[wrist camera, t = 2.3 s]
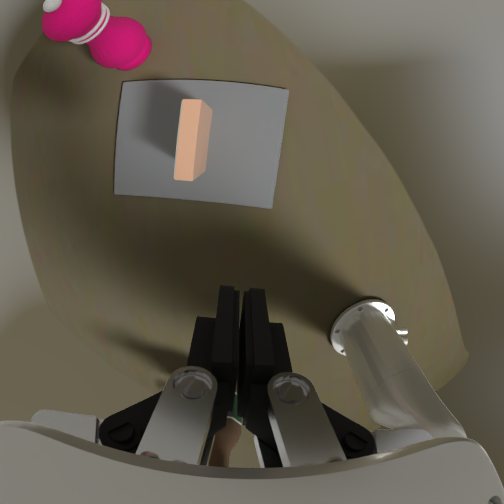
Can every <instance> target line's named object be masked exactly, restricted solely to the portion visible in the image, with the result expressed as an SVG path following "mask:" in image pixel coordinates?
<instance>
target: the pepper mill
mask: <svg viewBox="0 0 504 504" xmlns="http://www.w3.org/2000/svg"><path fill="white" fill-rule="evenodd" d="M43 10H44V11H45V13H44V15H43V18H42V30H43V32H44V34H45V35H46V36H47V37H48V38H49V39H51V40H54V41H58V42H64V41H70V42H72V43H74V44H84V43H86V44H87V45H89V49H90V52H91V55H92V57H93V58H94V60H95V61H96V62H97V63H99V64H100V65H102V66H104V67H107V68H117V69H119V70H123V71H126V70H131V69H134V68H136V67H138V66H139V65H141V64H142V63H143V62H144V61H145V60H146V59H147V57H148V56H149V54H150V51H151V47H152V44H151V40H150V38H149V37H148V36H147V35H146V31H145V29H144V27H143V26H142V25H141V24H140V23H139V22H137V21H136V20H134V19H131V18H128V17H113V16H110V12H109V9H108V7H107V6H106V5H104V4H103V3H102V0H45V2H44V4H43Z"/></svg>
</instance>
